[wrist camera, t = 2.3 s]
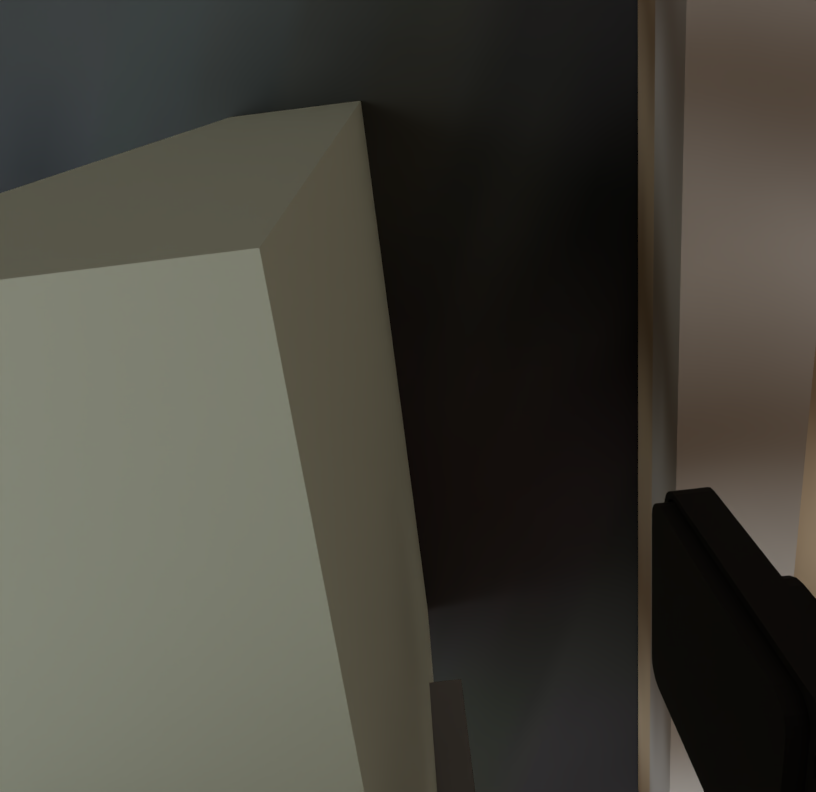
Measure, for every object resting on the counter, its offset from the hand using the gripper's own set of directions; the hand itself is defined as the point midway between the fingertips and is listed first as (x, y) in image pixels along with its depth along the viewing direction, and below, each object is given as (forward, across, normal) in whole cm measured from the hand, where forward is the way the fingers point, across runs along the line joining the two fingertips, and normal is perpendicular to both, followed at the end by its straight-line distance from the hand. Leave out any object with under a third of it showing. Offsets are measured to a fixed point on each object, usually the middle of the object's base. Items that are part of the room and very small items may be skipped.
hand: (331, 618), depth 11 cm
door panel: (+7, 0, -1) cm, 7 cm away
